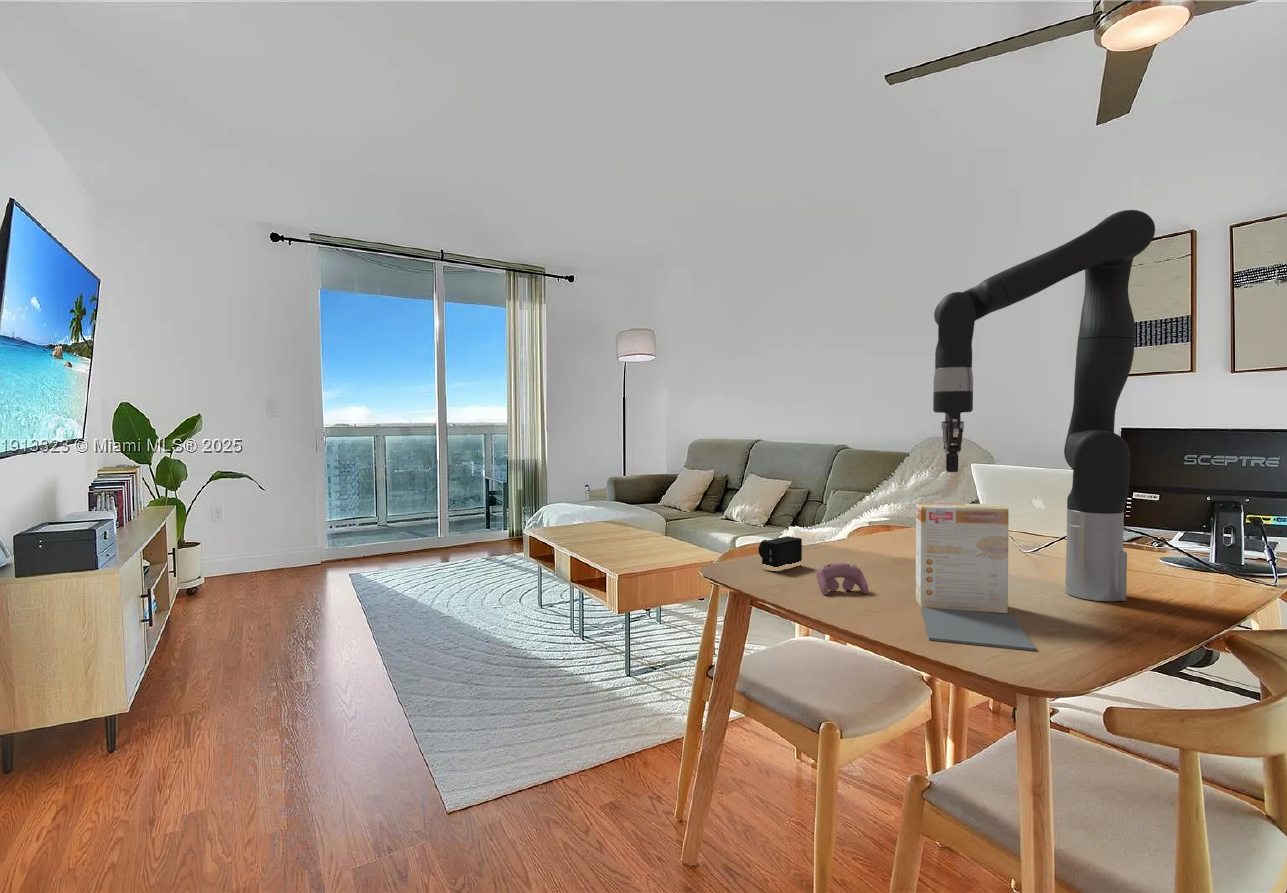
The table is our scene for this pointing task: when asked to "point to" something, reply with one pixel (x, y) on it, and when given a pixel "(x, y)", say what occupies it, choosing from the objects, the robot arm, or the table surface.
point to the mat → (975, 628)
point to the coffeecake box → (962, 556)
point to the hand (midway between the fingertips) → (951, 471)
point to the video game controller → (840, 570)
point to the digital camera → (781, 551)
